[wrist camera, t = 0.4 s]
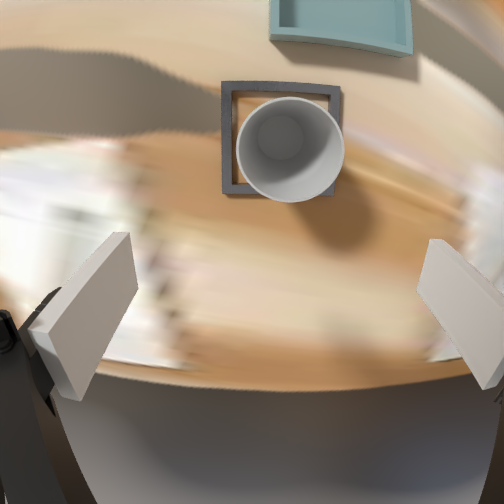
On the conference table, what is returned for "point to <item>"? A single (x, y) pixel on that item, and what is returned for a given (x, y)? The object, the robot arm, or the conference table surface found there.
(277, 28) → the bin
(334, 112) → the grey flat square frame
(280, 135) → the cup
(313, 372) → the conference table surface
